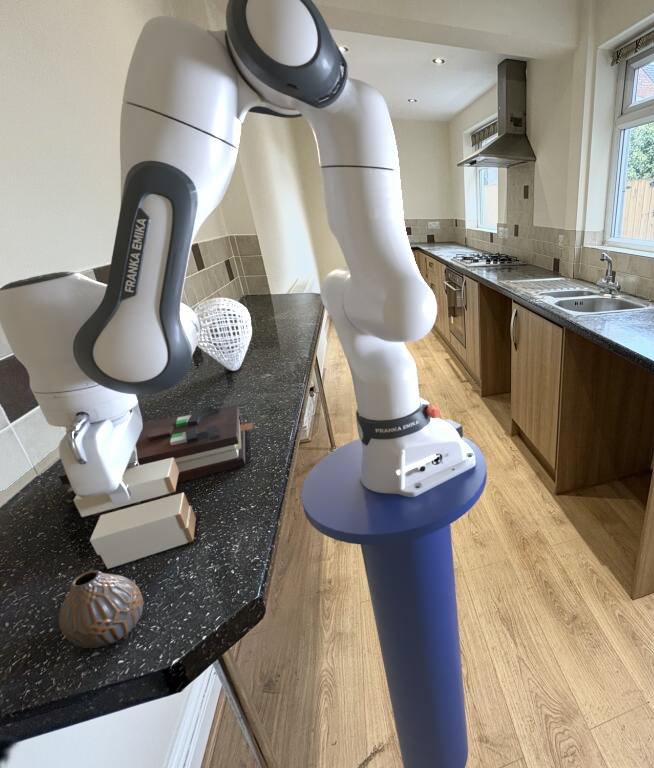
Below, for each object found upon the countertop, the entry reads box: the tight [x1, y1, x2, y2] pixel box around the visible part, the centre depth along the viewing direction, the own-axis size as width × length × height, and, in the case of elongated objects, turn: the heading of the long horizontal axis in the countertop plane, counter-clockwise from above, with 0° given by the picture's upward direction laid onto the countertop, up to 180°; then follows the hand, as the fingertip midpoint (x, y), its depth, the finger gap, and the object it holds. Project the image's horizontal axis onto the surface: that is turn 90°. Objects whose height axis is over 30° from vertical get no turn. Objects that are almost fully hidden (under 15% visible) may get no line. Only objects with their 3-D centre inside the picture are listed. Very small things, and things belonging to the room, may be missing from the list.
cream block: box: [73, 457, 179, 518], centre depth 59 cm, size 10×6×3 cm, turn 122°
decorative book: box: [58, 401, 255, 510], centre depth 82 cm, size 19×8×30 cm
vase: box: [58, 569, 144, 649], centre depth 48 cm, size 7×7×9 cm
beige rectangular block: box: [89, 492, 197, 570], centre depth 62 cm, size 10×6×6 cm, turn 122°
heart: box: [193, 297, 253, 372], centre depth 128 cm, size 28×16×22 cm, turn 32°
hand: (128, 486), depth 59 cm, fingers closed on cream block, 6 cm apart
